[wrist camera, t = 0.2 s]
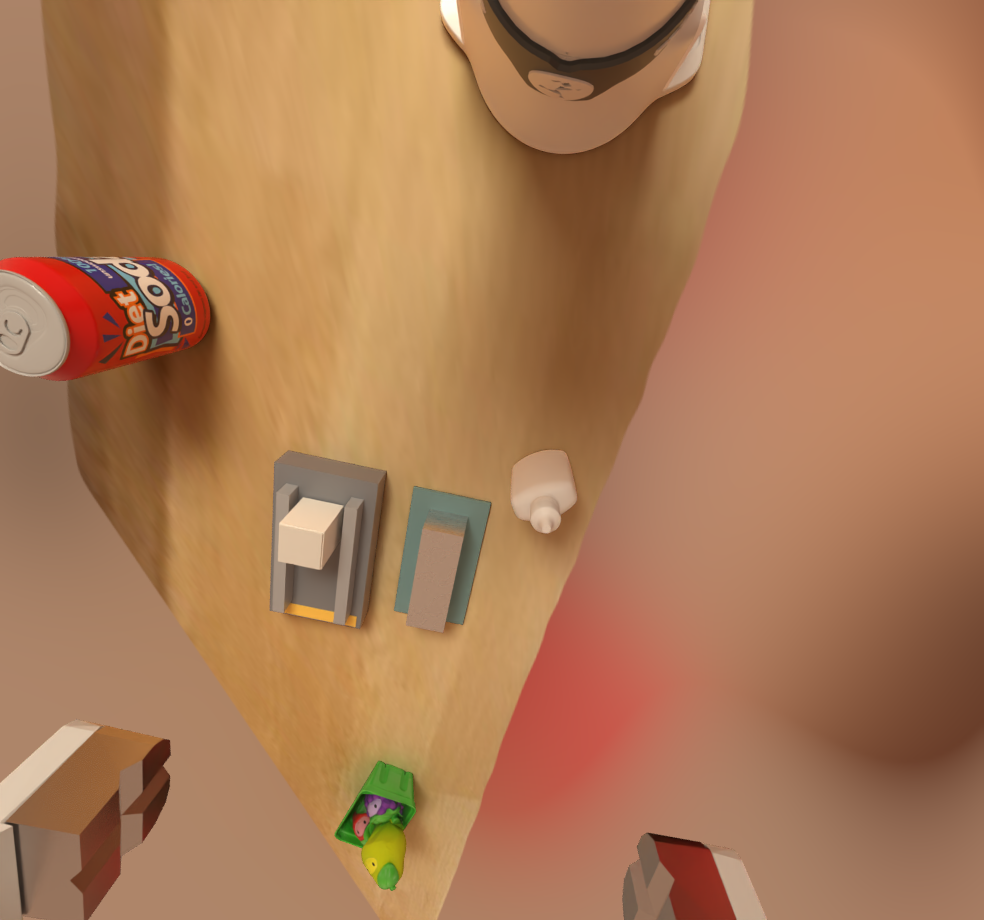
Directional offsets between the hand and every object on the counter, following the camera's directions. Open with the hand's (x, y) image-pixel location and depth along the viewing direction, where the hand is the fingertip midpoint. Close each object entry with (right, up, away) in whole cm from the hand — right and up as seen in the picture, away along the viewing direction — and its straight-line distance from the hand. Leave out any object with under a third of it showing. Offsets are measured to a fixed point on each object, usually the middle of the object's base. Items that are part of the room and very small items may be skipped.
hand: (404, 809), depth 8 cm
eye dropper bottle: (+6, +5, +40) cm, 41 cm away
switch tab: (-15, 0, +40) cm, 42 cm away
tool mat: (-4, -5, +44) cm, 45 cm away
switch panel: (-16, -2, +44) cm, 47 cm away
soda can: (-27, +20, +36) cm, 49 cm away
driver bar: (-4, -5, +44) cm, 45 cm away
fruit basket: (-13, -40, +60) cm, 73 cm away
